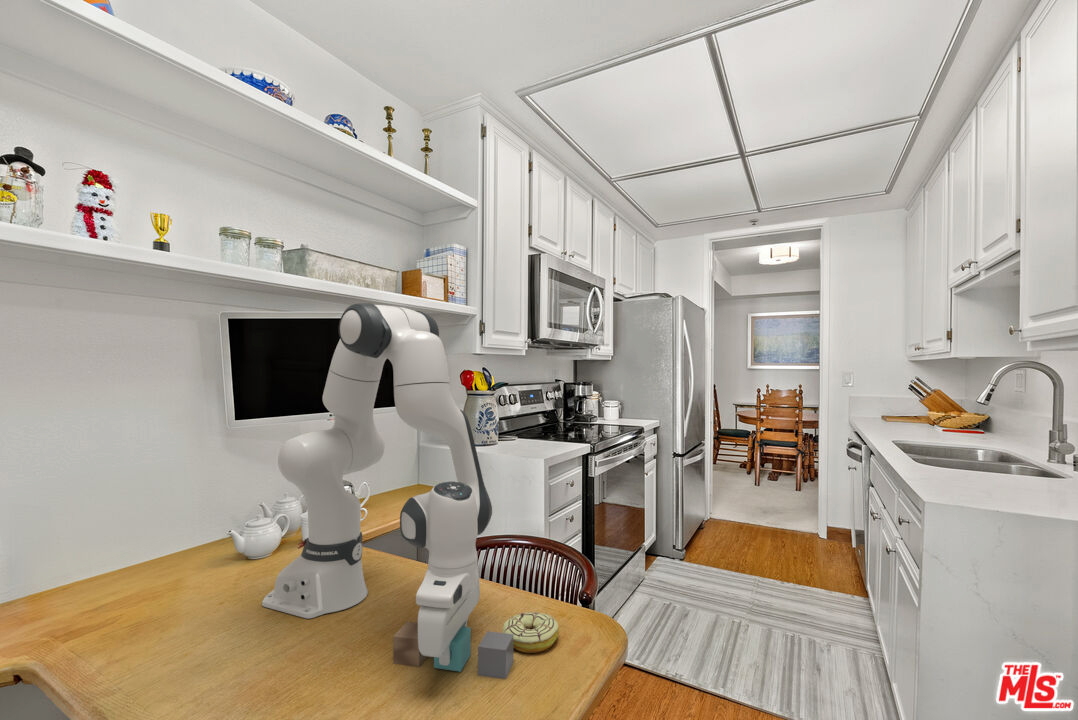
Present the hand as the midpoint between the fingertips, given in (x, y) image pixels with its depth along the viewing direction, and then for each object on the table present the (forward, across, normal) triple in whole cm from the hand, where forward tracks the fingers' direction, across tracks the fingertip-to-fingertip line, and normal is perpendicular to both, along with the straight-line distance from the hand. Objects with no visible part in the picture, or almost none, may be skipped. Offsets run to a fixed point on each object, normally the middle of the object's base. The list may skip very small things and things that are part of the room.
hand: (452, 652), depth 87 cm
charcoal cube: (+2, 0, +8) cm, 8 cm away
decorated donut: (+2, -10, +12) cm, 16 cm away
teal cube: (+2, 0, 0) cm, 2 cm away
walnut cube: (+2, 0, -8) cm, 8 cm away
